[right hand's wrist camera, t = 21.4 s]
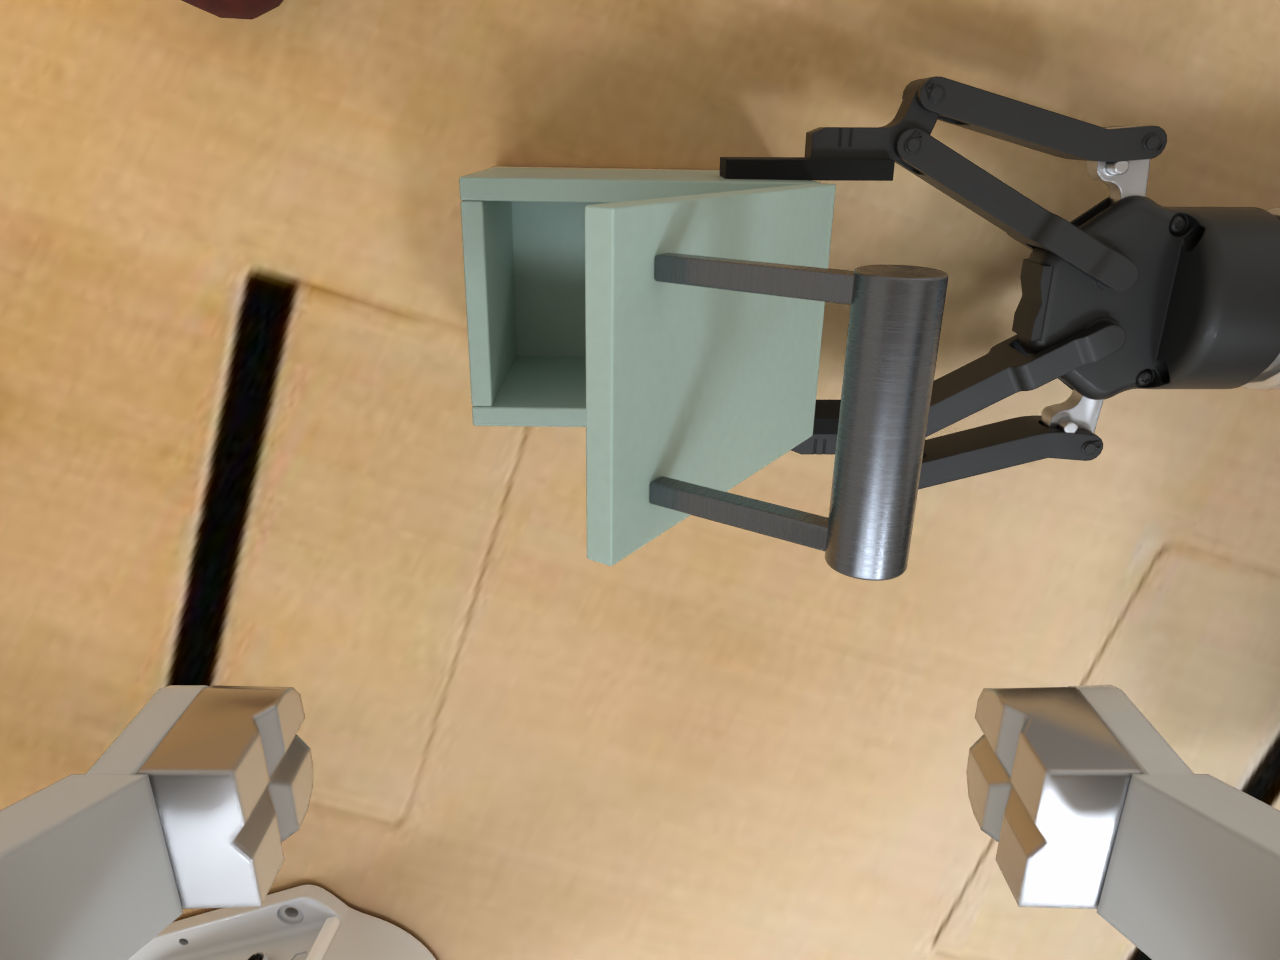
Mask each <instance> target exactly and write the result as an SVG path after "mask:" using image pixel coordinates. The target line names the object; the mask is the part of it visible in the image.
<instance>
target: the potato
mask: <svg viewBox="0 0 1280 960" xmlns="http://www.w3.org/2000/svg"><path fill="white" fill-rule="evenodd" d="M182 1H184V2H186V3H189V4H191V5H193V6H196V7H198V8H200V9H202V10H205V11H207V12H209V13H211V14H214V15H216V16H218V17H221V18H238V19H254V18H257V17H259V16H260V15H262V14H264V13H266V12H268V11H270V10H272V9H274V8H276V7H278V6H279V5H280V4H281V3H282V1H283V0H182Z"/></svg>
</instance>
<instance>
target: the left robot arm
mask: <svg viewBox="0 0 1280 960" xmlns="http://www.w3.org/2000/svg"><path fill="white" fill-rule="evenodd" d="M902 99H903V101H902V103H901V106H900V108H899V110H898V112H897V114H896V116H895V118H894V119H893V120H892V121H891V122H890V123H889V124H887V125H886V126H883V127H878V128H837V127H819V128H817V129H814V130H812V131H809V132H807V133H806V145H805V158H799V157H720V176H721V177H723V178H725V179H754V180H878V181H893V173H894V163H895V162H896V163H897V164H899V165H900V166H902V167H904V168H905V169H907V170H908V171H910V172H912V173H913V174H915V175H916V176H918V177H919V178H921V179H923V180H924V181H926V182H927V183H929V184H931V185H932V186H934V187H935V188H937V189H939V190H940V191H942V192H943V193H945V194H946V195H948V196H950V197H951V198H953V199H954V200H956V201H958V202H959V203H961V204H962V205H964V206H966V207H967V208H969V209H970V210H972V211H973V212H975V213H977V214H978V215H980V216H981V217H983V218H985V219H986V220H988V221H989V222H991V223H993V224H994V225H996V226H997V227H999V228H1000V229H1002V230H1004V231H1005V232H1007V234H1008V235H1009V236H1011V237H1012V238H1014V239H1016V240H1017V241H1019V242H1020V243H1022V244H1023V245H1025V246H1027V247H1028V248H1030V249H1031V250H1033V251H1032V253H1031V255H1030V257H1029V259H1023V265H1022V271H1021V285H1022V298H1021V300H1020V303H1019V305H1018V307H1017V310H1016V312H1015V316H1014V322H1013V328H1012V331H1014V332H1015V333H1017V335H1015V336H1013V337H1011V338H1009V339H1007V340H1005V341H1003V342H1001V343H999V344H997V345H995V346H994V347H992V348H991V349H990V351H989V353H988V354H986V355H985V356H983V357H981V358H979V359H977V360H975V361H973V362H971V363H969V364H967V365H965V366H963V367H961V368H959V369H957V370H955V371H953V372H951V373H949V374H947V375H945V376H943V377H941V378H939V379H937V380H935V381H933V387H932V394H931V401H930V408H929V415H928V422H927V429H926V436H925V437H927V436H929V435H931V434H933V433H935V432H937V431H939V430H941V429H943V428H945V427H947V426H949V425H951V424H953V423H955V422H957V421H959V420H961V419H963V418H966V417H968V416H970V415H972V414H974V413H976V412H978V411H980V410H982V409H984V408H986V407H988V406H990V405H992V404H994V403H996V402H998V401H1000V400H1002V399H1004V398H1006V397H1008V396H1010V395H1012V394H1014V393H1017V392H1019V391H1029V390H1033V389H1036V388H1038V387H1040V386H1042V385H1044V384H1046V383H1048V382H1050V381H1052V380H1054V379H1056V378H1058V379H1060V380H1061V381H1062V382H1063V383H1064V384H1066V385H1067V386H1068V387H1069V388H1071V389H1072V390H1073V392H1072V394H1071V396H1070V397H1069V399H1067V400H1066V401H1065V402H1063V403H1061V404H1055V405H1051V406H1047V407H1045V408H1044V409H1043V411H1042V416H1023V417H1018V418H1012V419H1008V420H1004V421H1000V422H996V423H992V424H988V425H984V426H980V427H976V428H972V429H968V430H964V431H960V432H956V433H952V434H948V435H944V436H940V437H936V438H932V439H928V440H925V443H924V450H923V457H922V464H921V471H920V479H919V486H918V489H922V488H926V487H930V486H934V485H938V484H942V483H946V482H950V481H954V480H958V479H963V478H967V477H971V476H975V475H979V474H983V473H987V472H991V471H995V470H999V469H1004V468H1008V467H1012V466H1016V465H1020V464H1024V463H1028V462H1032V461H1036V460H1041V459H1045V458H1059V459H1071V460H1084V461H1087V460H1092V459H1094V458H1096V457H1097V456H1098V455H1099V454H1100V453H1101V451H1102V449H1103V442H1102V440H1101V439H1100V438H1099V437H1098V436H1097V435H1095V434H1094V431H1095V428H1096V424H1097V421H1098V417H1099V414H1100V411H1101V407H1102V404H1103V400H1104V399H1107V398H1110V397H1113V396H1115V395H1116V394H1118V393H1121V392H1123V391H1126V390H1130V389H1232V388H1237V387H1240V386H1242V387H1244V388H1247V389H1280V208H1271V209H1268V210H1263V209H1260V208H1256V207H1163V206H1160V205H1158V204H1157V203H1155V202H1154V201H1152V200H1151V199H1149V198H1147V197H1146V189H1147V181H1148V173H1149V165H1150V159H1151V158H1155V157H1156V156H1158V155H1159V154H1161V152H1162V151H1163V150H1164V148H1165V146H1166V143H1167V135H1166V133H1165V131H1164V130H1163V129H1162V128H1160V127H1158V126H1115V127H1103V128H1102V127H1099V126H1096V125H1093V124H1090V123H1086V122H1083V121H1080V120H1077V119H1074V118H1071V117H1067V116H1064V115H1061V114H1058V113H1055V112H1052V111H1048V110H1045V109H1042V108H1039V107H1036V106H1032V105H1029V104H1026V103H1023V102H1020V101H1017V100H1013V99H1010V98H1007V97H1004V96H1001V95H997V94H994V93H991V92H988V91H985V90H982V89H978V88H975V87H972V86H969V85H966V84H963V83H959V82H956V81H953V80H950V79H947V78H943V77H930V78H925V79H919V80H915V81H912V82H911V83H909V84H908V85H907V86H906V88H905V90H904V92H903V97H902ZM937 120H941V121H944V122H947V123H950V124H954V125H957V126H960V127H963V128H966V129H970V130H973V131H976V132H979V133H983V134H986V135H989V136H992V137H996V138H999V139H1002V140H1005V141H1009V142H1012V143H1015V144H1018V145H1021V146H1025V147H1028V148H1031V149H1034V150H1038V151H1041V152H1044V153H1047V154H1051V155H1054V156H1057V157H1061V158H1066V159H1074V160H1086V161H1087V163H1086V168H1087V173H1088V175H1089V176H1090V178H1092V179H1093V180H1097V181H1102V182H1104V183H1105V184H1106V185H1107V186H1108V187H1109V190H1110V197H1108V198H1106V199H1104V200H1103V201H1101V202H1100V203H1098V204H1097V205H1095V206H1094V207H1092V208H1091V209H1089V210H1088V211H1086V212H1085V213H1083V214H1082V215H1080V216H1079V217H1077V218H1076V219H1074V220H1073V221H1071V222H1070V223H1069V222H1068V221H1066V220H1065V219H1063V218H1061V217H1059V216H1057V215H1055V214H1053V213H1051V212H1049V211H1047V210H1046V209H1044V208H1042V207H1041V206H1039V205H1038V204H1036V203H1035V202H1033V201H1031V200H1030V199H1028V198H1027V197H1025V196H1024V195H1022V194H1021V193H1019V192H1017V191H1016V190H1014V189H1013V188H1011V187H1010V186H1008V185H1007V184H1005V183H1003V182H1002V181H1000V180H999V179H997V178H996V177H994V176H993V175H991V174H989V173H988V172H986V171H985V170H983V169H982V168H980V167H979V166H977V165H975V164H974V163H972V162H971V161H969V160H968V159H966V158H964V157H963V156H961V155H960V154H958V153H957V152H955V151H954V150H952V149H950V148H949V147H947V146H946V145H944V144H943V143H941V142H940V141H938V140H936V139H935V138H933V137H932V136H930V134H931V132H932V130H933V127H934V125H935V123H936V121H937ZM840 405H841V400H816V403H815V414H814V425H813V435H812V436H811V437H810V438H808V439H807V440H805V441H803V442H802V443H800V444H799V445H797V446H796V447H794V448H793V449H791V450H792V451H795V452H797V453H800V454H835V453H836V444H837V434H838V425H839V415H840Z"/></svg>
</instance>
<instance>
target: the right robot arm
mask: <svg viewBox="0 0 1280 960" xmlns="http://www.w3.org/2000/svg"><path fill="white" fill-rule="evenodd" d="M304 719H305V714H304V710H303V705H302V700H301V695H300V693H298V692H297V691H296V690H295V689H294V688H293V687H253V686H210V687H209V686H206V685H187V686H167V687H164V688H161V689H159V690H158V691H157V692H156V693H155V694H154V696H153V697H152V698H151V699H150V700H149V701H148V703H147V704H146V705H145V706H144V707H143V708H142V709H141V711H140V712H139V713H138V714H137V715H136V716H135V718H134V719H133V720H132V721H131V722H130V723H129V724H128V726H127V727H126V728H125V729H124V730H123V731H122V733H121V734H120V735H119V736H118V737H117V738H116V740H115V741H114V742H113V743H112V744H111V745H110V746H109V748H108V749H107V750H106V751H105V752H104V753H103V755H102V756H101V757H100V758H99V759H98V760H97V761H96V763H95V764H94V765H93V766H92V767H91V768H90V770H89V771H88V772H87V773H86V774H71V775H69V776H67V777H65V778H63V779H61V780H60V781H58V782H56V783H54V784H52V785H50V786H48V787H46V788H44V789H42V790H40V791H38V792H36V793H34V794H32V795H30V796H28V797H26V798H24V799H22V800H20V801H18V802H16V803H14V804H12V805H10V806H8V807H7V808H5V809H3V810H1V811H0V960H436V959H435V957H434V956H433V955H432V954H431V952H430V951H429V950H428V949H427V948H426V947H425V946H424V945H423V944H422V943H421V942H420V941H418V940H417V939H416V938H415V937H413V936H412V935H411V934H409V933H408V932H406V931H404V930H403V929H401V928H399V927H397V926H395V925H393V924H391V923H389V922H387V921H385V920H382V919H379V918H377V917H374V916H371V915H368V914H365V913H362V912H359V911H357V910H354V909H352V908H350V907H349V906H347V905H346V904H345V903H343V902H342V901H341V900H339V899H338V898H337V897H335V896H334V895H333V894H331V893H330V892H328V891H327V890H325V889H323V888H321V887H319V886H316V885H310V884H308V885H301V886H297V887H294V888H290V889H287V890H283V891H280V892H276V893H273V894H269V895H267V894H268V892H269V890H270V888H271V886H272V884H273V882H274V880H275V878H276V876H277V874H278V872H279V870H280V868H281V865H282V863H283V861H284V855H283V849H282V844H281V842H282V841H284V840H285V839H287V838H288V837H289V836H291V835H292V834H294V833H295V832H296V831H298V830H299V828H300V826H301V824H302V822H303V820H304V817H305V815H306V813H307V811H308V806H309V802H310V797H311V792H312V788H313V762H312V756H311V749H310V748H309V747H308V746H307V745H306V744H305V743H304V742H303V741H302V740H301V739H300V738H299V737H298V736H297V735H296V733H297V731H298V729H299V728H300V726H301V724H302V722H303V720H304ZM975 719H976V720H977V722H978V724H979V726H980V728H981V729H982V731H983V733H984V735H983V736H982V737H981V738H980V739H979V740H978V741H977V742H976V743H975V744H974V745H973V746H972V747H971V748H970V749H969V757H968V765H967V783H968V796H969V799H970V803H971V806H972V810H973V813H974V815H975V818H976V820H977V822H978V824H979V826H980V828H981V830H982V831H984V832H985V833H986V834H988V835H989V836H991V837H992V838H993V839H995V840H996V841H998V842H999V844H998V849H997V855H996V861H997V863H998V865H999V868H1000V870H1001V872H1002V874H1003V876H1004V878H1005V880H1006V882H1007V884H1008V886H1009V888H1010V890H1011V892H1012V894H1013V896H1014V898H1015V900H1016V902H1017V904H1018V906H1019V907H1048V908H1084V909H1097V913H1098V914H1099V915H1100V916H1101V917H1103V918H1104V919H1105V920H1106V921H1107V922H1108V923H1110V924H1111V925H1112V926H1113V927H1114V928H1116V929H1117V930H1118V931H1119V932H1120V933H1121V934H1123V935H1124V936H1125V937H1126V938H1127V939H1128V940H1130V941H1131V942H1132V943H1133V944H1134V945H1136V946H1137V947H1138V948H1139V949H1140V950H1141V951H1143V952H1144V953H1145V954H1146V955H1147V956H1148V957H1150V958H1151V959H1152V960H1280V811H1279V810H1277V809H1275V808H1273V807H1271V806H1269V805H1267V804H1265V803H1264V802H1262V801H1260V800H1258V799H1256V798H1254V797H1252V796H1250V795H1248V794H1246V793H1244V792H1242V791H1240V790H1238V789H1236V788H1234V787H1232V786H1230V785H1228V784H1226V783H1224V782H1222V781H1220V780H1218V779H1217V778H1215V777H1213V776H1211V775H1209V774H1194V773H1193V772H1192V771H1191V770H1190V768H1189V767H1188V766H1187V765H1186V764H1185V763H1184V762H1183V760H1182V759H1181V758H1180V757H1179V756H1178V755H1177V753H1176V752H1175V751H1174V750H1173V749H1172V748H1171V746H1170V745H1169V744H1168V743H1167V742H1166V741H1165V740H1164V738H1163V737H1162V736H1161V735H1160V734H1159V733H1158V731H1157V730H1156V729H1155V728H1154V727H1153V726H1152V725H1151V723H1150V722H1149V721H1148V720H1147V719H1146V718H1145V716H1144V715H1143V714H1142V713H1141V712H1140V711H1139V710H1138V708H1137V707H1136V706H1135V705H1134V704H1133V703H1132V701H1131V700H1130V699H1129V698H1128V697H1127V696H1126V694H1125V693H1124V692H1123V691H1122V690H1121V689H1119V688H1117V687H1114V686H1112V685H1092V686H1069V687H1049V688H984V689H983V691H982V693H981V695H980V697H979V699H978V703H977V709H976V714H975ZM196 908H220V909H217V910H213V911H210V912H206V913H203V914H199V915H196V916H192V917H189V918H185V919H182V920H178V921H175V922H173V921H174V920H175V919H177V918H178V917H179V916H180V915H181V914H183V910H182V909H196Z"/></svg>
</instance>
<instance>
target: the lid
mask: <svg viewBox="0 0 1280 960" xmlns="http://www.w3.org/2000/svg"><path fill="white" fill-rule="evenodd" d="M835 188H836V186H835V184H820V183H812V184H802V185H791V186H781V187H771V188H760V189H750V190H739V191H729V192H719V193H708V194H698V195H688V196H677V197H667V198H656V199H646V200H636V201H625V202H615V203H604V204H594V205H587V206H585V319H586V476H587V558H588V559H590V560H593V561H596V562H600V563H603V564H606V565H609V566H613V565H614V564H616V563H617V562H619V561H620V560H622V559H623V558H625V557H626V556H628V555H629V554H631V553H633V552H634V551H636V550H637V549H639V548H640V547H642V546H643V545H645V544H646V543H648V542H650V541H651V540H653V539H654V538H656V537H657V536H659V535H660V534H662V533H663V532H665V531H666V530H668V529H670V528H671V527H673V526H674V525H676V524H677V523H679V522H680V521H682V520H683V519H685V518H686V517H688V516H690V515H694V516H698V517H701V518H705V519H709V520H712V521H716V522H720V523H723V524H727V525H731V526H734V527H738V528H742V529H745V530H749V531H753V532H756V533H760V534H764V535H767V536H771V537H775V538H778V539H782V540H786V541H789V542H793V543H797V544H800V545H804V546H808V547H811V548H815V549H819V550H822V551H825V559H826V562H827V563H828V565H829V566H830V567H831V568H833V569H834V570H836V571H837V572H839V573H841V574H844V575H846V576H849V577H853V578H857V579H863V580H888V579H893V578H896V577H898V576H900V575H902V574H903V573H904V572H905V570H906V568H907V563H908V556H909V549H910V542H911V535H912V528H913V521H914V514H915V507H916V500H917V493H918V486H919V479H920V471H921V464H922V457H923V450H924V443H925V436H926V429H927V422H928V415H929V408H930V401H931V394H932V387H933V380H934V373H935V366H936V359H937V352H938V345H939V338H940V331H941V324H942V317H943V310H944V303H945V296H946V289H947V282H948V275H947V273H945V272H943V271H940V270H936V269H931V268H925V267H917V266H905V265H869V266H862V267H859V268H856V269H855V271H847V270H837V269H828V263H829V253H830V242H831V231H832V220H833V210H834V199H835ZM825 302H830V303H838V304H847V305H851V309H850V319H849V328H848V338H847V347H846V357H845V367H844V376H843V386H842V396H841V405H840V415H839V425H838V434H837V444H836V453H835V463H834V473H833V482H832V492H831V502H830V511H829V518H826V517H823V516H819V515H815V514H811V513H807V512H803V511H799V510H795V509H791V508H787V507H783V506H779V505H775V504H771V503H767V502H763V501H759V500H755V499H751V498H747V497H743V496H739V495H735V494H731V493H727V492H726V491H728V490H730V489H731V488H733V487H734V486H736V485H737V484H739V483H740V482H742V481H743V480H745V479H746V478H748V477H750V476H751V475H753V474H754V473H756V472H757V471H759V470H760V469H762V468H763V467H765V466H766V465H768V464H770V463H771V462H773V461H774V460H776V459H777V458H779V457H780V456H782V455H783V454H785V453H787V452H788V451H790V450H791V449H793V448H794V447H796V446H797V445H799V444H800V443H802V442H803V441H805V440H807V439H808V438H810V437H811V436H812V435H813V425H814V414H815V403H816V393H817V382H818V371H819V360H820V350H821V339H822V328H823V317H824V307H825Z"/></svg>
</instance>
